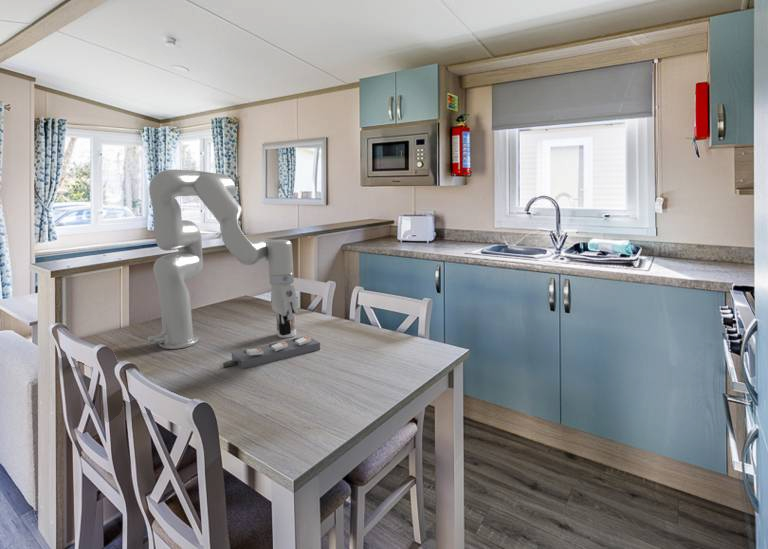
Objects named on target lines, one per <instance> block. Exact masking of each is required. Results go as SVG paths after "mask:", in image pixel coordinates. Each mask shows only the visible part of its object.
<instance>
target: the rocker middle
mask: <svg viewBox="0 0 768 549" xmlns="http://www.w3.org/2000/svg"><path fill="white" fill-rule="evenodd" d="M281 341H282V342H281ZM281 341H279V342H280V343H277V342H276V343H277V344H275V345H272V346H271V348H272V349H273V350H275V351H278V350H280V349H283V348H285V347H288V344H287V343H286V342H284V341H285V340H281Z"/></svg>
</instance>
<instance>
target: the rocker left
mask: <svg viewBox="0 0 768 549" xmlns="http://www.w3.org/2000/svg"><path fill="white" fill-rule="evenodd" d="M245 349H246V353H247V354H249V355H260V354H263V353H264V351H262V350H261V349H250V348H245Z"/></svg>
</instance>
